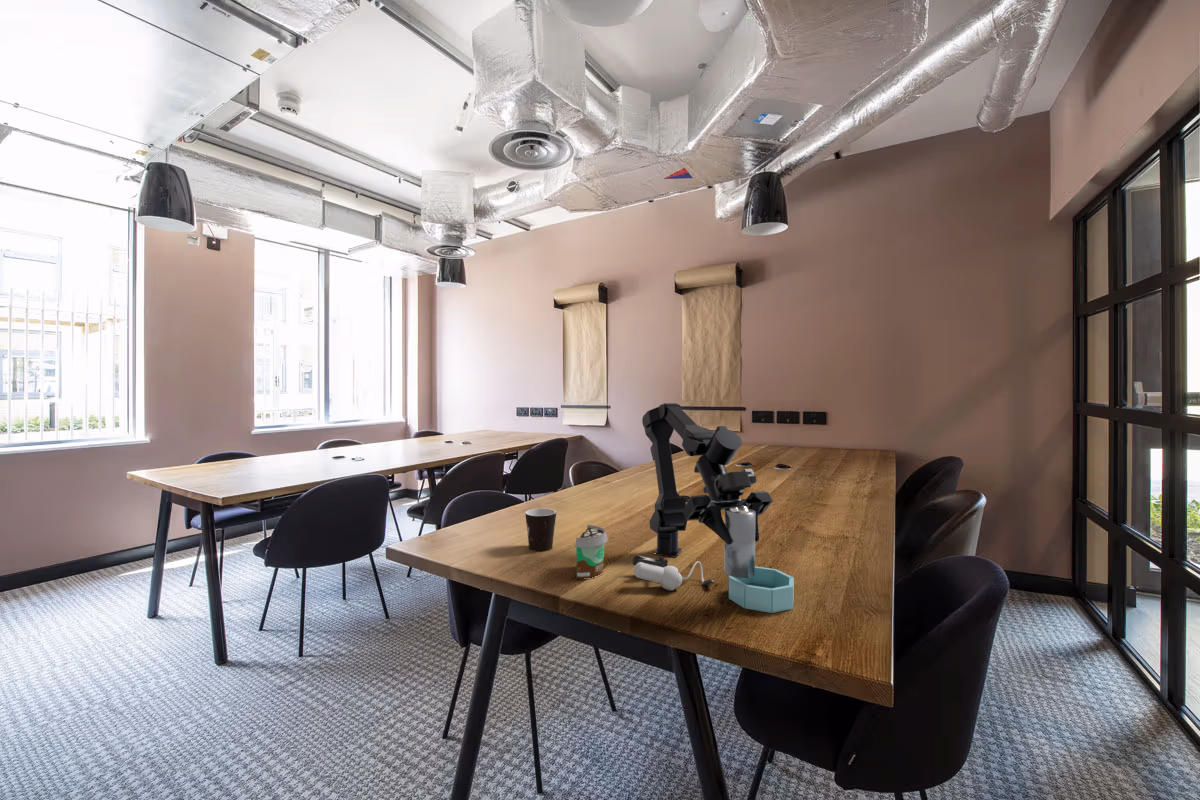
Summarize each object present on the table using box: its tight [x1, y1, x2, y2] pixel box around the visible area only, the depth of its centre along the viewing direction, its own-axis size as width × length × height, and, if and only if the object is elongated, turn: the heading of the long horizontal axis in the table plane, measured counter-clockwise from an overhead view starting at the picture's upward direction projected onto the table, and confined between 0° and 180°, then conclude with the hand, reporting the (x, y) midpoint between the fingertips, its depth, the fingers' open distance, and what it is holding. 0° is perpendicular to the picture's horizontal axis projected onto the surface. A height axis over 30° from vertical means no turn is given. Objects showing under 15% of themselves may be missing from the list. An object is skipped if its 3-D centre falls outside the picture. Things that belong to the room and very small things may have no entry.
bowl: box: [728, 565, 795, 614], centre depth 102 cm, size 13×13×4 cm
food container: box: [575, 524, 608, 580], centre depth 116 cm, size 12×6×10 cm, turn 168°
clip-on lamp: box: [632, 554, 715, 591], centre depth 111 cm, size 12×6×18 cm
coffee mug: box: [524, 508, 557, 553], centre depth 134 cm, size 12×9×10 cm
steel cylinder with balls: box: [723, 506, 756, 578], centre depth 99 cm, size 6×6×13 cm
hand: (743, 542), depth 98 cm, fingers closed on steel cylinder with balls, 6 cm apart
